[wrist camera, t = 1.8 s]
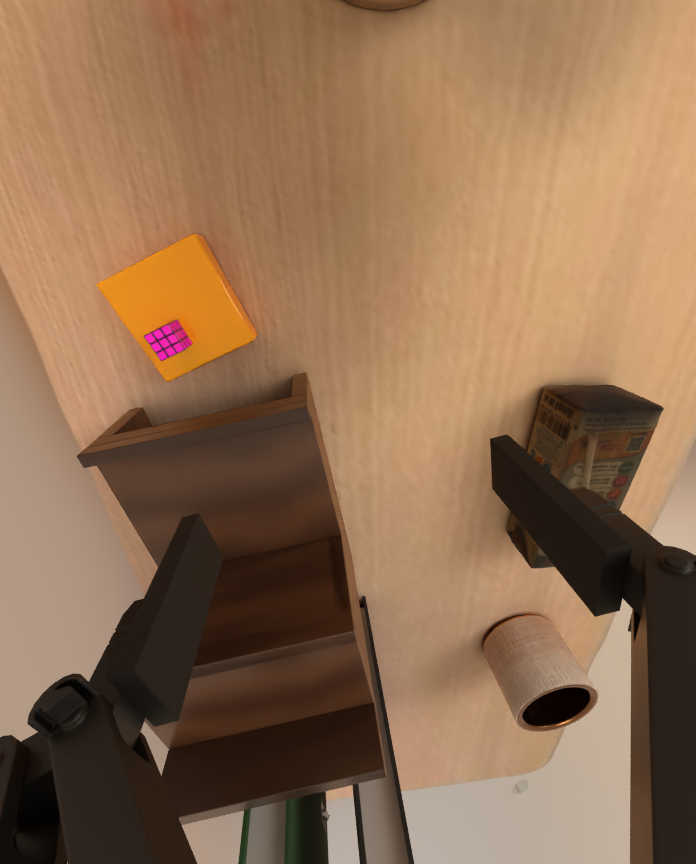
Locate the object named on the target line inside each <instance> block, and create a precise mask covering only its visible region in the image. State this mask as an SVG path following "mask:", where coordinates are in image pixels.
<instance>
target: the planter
mask: <svg viewBox="0 0 696 864" xmlns="http://www.w3.org/2000/svg"><path fill="white" fill-rule="evenodd" d="M483 650H484V654H485V657H486V659H487V661H488V663H489V665H490V667H491V669H492V672H493V674H494V676H495V678H496V680H497V682H498V684H499V686H500V688H501V690H502V693H503V695H504V697H505V699H506V701H507V703H508V705H509V707H510V710H511V712H512V714H513V716H514V718H515V720H516V722H517V724H518V726H519V727H521V728H522V729H525V730H528V731H533V732H543V731H550V730H555V729H559V728H562V727H565V726H567V725H570V724H572V723H574V722H576V721H578V720H579V719H581V718H582V717H584V716H585V715H586V714H588V713H589V712H590V711H591V710H592V709H593V707H594V706H595V705H596V703H597V701H598V692H597V690H596V688H595V687H594V685H593V684H592V682H591V681H590V679H589V678H588V676H587V675H586V673H585V672H584V670H583V669H582V667H581V666H580V664H579V663H578V661H577V660H576V658H575V657H574V655H573V654H572V652H571V651H570V649H569V648H568V646H567V645H566V643H565V641H564V640H563V638H562V637H561V635H560V634H559V632H558V631H557V629H556V628H555V626H554V625H553V624H552V623H551V622H550V621H549V620H548V619H546V618H544V617H541V616H536V615H522V616H516V617H513V618H510V619H508V620H506V621H504V622H502V623H500V624H499V625H497V626H496V627H495V628H494V629H493V630H492V631H491V632H490V633H489V635H488V636H487V638H486V640H485V642H484V646H483Z"/></svg>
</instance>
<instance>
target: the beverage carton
mask: <svg viewBox="0 0 696 864" xmlns="http://www.w3.org/2000/svg"><path fill="white" fill-rule="evenodd" d="M663 409H664V408H663V407H662V406H660V405H657V404H655V403H653V402H651V401H649V400H647V399H645V398H643V397H640V396H638V395H636V394H633V393H631V392H628V391H626V390H624V389H622V388H619V387H617V386H614V385H598V386H579V385H573V386H545V387H544V391H543V395H542V398H541V401H540V405H539V409H538V412H537V416H536V420H535V423H534V427H533V431H532V435H531V439H530V443H529V447H528V451H527V452H528V453H529V454H530V455H531V456H532V457H533V458H534V459H536V460H537V461H538V462H539V463H540V464H541V465H542V466H543V467H545V468H546V469H547V470H548V471H549V472H550V473H551V474H552V475H554V476H555V477H556V478H557V479H558V480H559V481H560V482H561V483H563V484H564V485H565V486H566V487H567V488H568V489H569V490H572V489H576V488H580V487H585V488H587V489H590V490H592V491H594V492H596V493H599V494H600V495H601V496H603V497H604V498H605V499H606V500H608V501H609V502H610V503H611V504H612V506H615V507H616V508H617V509H620V507H621V505H622V503H623V500H624V498H625V496H626V494H627V492H628V490H629V487H630V485H631V482H632V480H633V478H634V476H635V474H636V472H637V469H638V467H639V465H640V462H641V460H642V458H643V455H644V453H645V451H646V449H647V446H648V444H649V442H650V440H651V437H652V435H653V432H654V430H655V428H656V426H657V424H658V420H659V417H660V415H661V413H662V411H663ZM507 533H508V535H509V536H510V538H511V541H512V542H513V544H514V545H515V546H516V548H517V549H518V551H519V552H520V553H521V554H522V556H523V557H524V558H525V560H526V562H527V563H528V564H529V566H530V567H531V568H547V567H555V566H554V565H553V564H552V562H551V561H550V560H549V559H548V557H547V556H546V555H545V554H544V552H543V551H542V550H541V549H540V547H539V546H538V545H537V544H536V542H535V541H534V540H533V539H532V537H531V536H530V535H529V534H528V532H527V531H526V530H525V529H524V527H523V526H522V525H521V524H520V522H519V521H518V520H517V519H516V517H515V516H514V515H513V514H512V513H511V518H510V522H509V526H508V529H507Z"/></svg>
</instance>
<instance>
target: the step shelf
mask: <svg viewBox="0 0 696 864" xmlns="http://www.w3.org/2000/svg"><path fill="white" fill-rule="evenodd" d="M77 458H78V459H79V461H80V463H81V464H82V466H83V467H84V468H86V467H91V466H96V465H97V466H98V468H99V470H100V471H101V473H102V475H103V476H104V478H105V480H106V481H107V483H108V485H109V486H110V488H111V490H112V491H113V493H114V495H115V496H116V498H117V500H118V501H119V503H120V505H121V506H122V508H123V510H124V511H125V513H126V514H127V516H128V518H129V519H130V521H131V523H132V524H133V526H134V528H135V529H136V531H137V533H138V534H139V536H140V538H141V539H142V541H143V543H144V544H145V546H146V548H147V549H148V551H149V553H150V554H151V556H152V558H153V559H154V561H155V563H156V564H157V566H158V567H159V565H160V563H161V561H162V559H163V557H164V555H165V553H166V550H167V548H168V546H169V544H170V542H171V540H172V538H173V536H174V533H175V531H176V529H177V527H178V525H179V523H180V521H181V519H182V517H185V516H189V515H193V514H197V513H199V514H200V516H201V517H202V519H203V521H204V523H205V525H206V527H207V528H208V530H209V532H210V534H211V536H212V537H213V539H214V541H215V543H216V545H217V547H218V548H219V550H220V552H221V554H222V556H223V560H222V563H221V567H220V571H219V574H218V578H217V582H216V585H215V589H214V593H213V596H212V600H211V604H210V607H209V611H208V615H207V618H206V622H205V626H204V629H203V633H202V637H201V640H200V644H199V648H198V651H197V655H196V659H195V662H194V666H193V670H192V673H191V677H190V681H189V684H188V688H187V692H186V695H185V699H184V703H183V707H182V710H181V714H180V718H179V721H177V722H173V723H169V724H165V725H161V726H157V727H154V726H153V725H152V724H151V723H150V722H149V721H148V720H147V719H146V718H145V720H144V721H145V722H146V723H147V725H148V726H149V727H150V728H151V729H152V730H153V731H154V733H155V734H156V735H157V736H158V737H159V738H160V740H161V741H162V742H163V743H164V744H165V745H166V746H167V748H168V749H169V751H168V754H167V759H166V762H165V765H164V769H163V773H162V776H161V777H162V779H163V782H164V784H165V787H166V789H167V791H168V794H169V796H170V799H171V801H172V804H173V806H174V808H175V811H176V813H177V816H178V818H179V821H180V823H181V825H183V824H188V823H192V822H196V821H200V820H205V819H209V818H213V817H218V816H222V815H226V814H230V813H235V812H239V811H243V810H248V809H252V808H256V807H260V806H265V805H269V804H273V803H277V802H282V801H286V800H290V799H294V798H299V797H303V796H307V795H312V794H316V793H320V792H324V791H329V790H333V789H337V788H341V787H346V786H350V785H354V784H358V783H363V782H367V781H371V780H376V779H380V778H384V777H387V774H386V767H385V761H384V755H383V749H382V742H381V736H380V730H379V724H378V717H377V711H376V705H375V699H374V693H373V686H372V680H371V674H370V668H369V661H368V655H367V649H366V643H365V636H364V630H363V624H362V618H361V611H360V605H359V599H358V593H357V586H356V580H355V574H354V568H353V561H352V556H351V552H350V548H349V543H348V539H347V535H346V531H345V527H344V523H343V519H342V515H341V511H340V507H339V503H338V499H337V495H336V490H335V486H334V482H333V478H332V474H331V470H330V466H329V462H328V458H327V454H326V450H325V446H324V441H323V437H322V433H321V429H320V425H319V421H318V417H317V413H316V409H315V405H314V401H313V397H312V393H311V388H310V384H309V380H308V376H307V373H302V374H297V375H294V377H293V388H292V397H289V398H284V399H280V400H275V401H270V402H266V403H261V404H256V405H252V406H247V407H242V408H238V409H233V410H228V411H223V412H219V413H214V414H209V415H205V416H200V417H195V418H191V419H186V420H181V421H177V422H172V423H167V424H163V425H158V426H153V427H152V426H151V424H150V422H149V420H148V418H147V416H146V413H145V411H144V409H143V408H137V409H132V410H129V411H128V412H127V413H126V414H125V415H123V416H122V417H121V418H120V419H119V420H118V421H117V422H115V423H114V424H113V425H112V426H111V427H110V428H109V429H107V430H106V431H105V432H104V433H103V434H102V435H100V436H99V437H98V438H97V439H96V440H95V441H94V442H93V443H91V444H90V445H89V446H88V447H87V448H86V449H84V450H83V451H82V452H81V453H80V454H79V455H78V456H77Z"/></svg>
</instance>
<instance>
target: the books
mask: <svg viewBox="0 0 696 864" xmlns="http://www.w3.org/2000/svg"><path fill="white" fill-rule="evenodd" d="M363 602H364V607H360V611H361V618H362V624H363V630H364V636H365V643H366V649H367V655H368V661H369V668H370V674H371V680H372V686H373V693H374V699H375V705H376V711H377V717H378V724H379V730H380V736H381V742H382V749H383V755H384V761H385V767H386V774H387V777H384V778H380V779H376V780H371V781H367V782H363V783H358V784H354V785H353V794H354V804H355V816H356V826H357V836H358V847H359V857H360V864H414V860H413V855H412V849H411V844H410V839H409V833H408V828H407V822H406V817H405V812H404V806H403V800H402V795H401V789H400V784H399V778H398V773H397V768H396V762H395V757H394V751H393V746H392V740H391V735H390V729H389V724H388V718H387V713H386V707H385V702H384V697H383V691H382V686H381V680H380V675H379V669H378V664H377V658H376V653H375V647H374V642H373V636H372V631H371V626H370V620H369V615H368V609H367V604H366V598H365V596H363ZM329 816H330V815H329V814H328V813H327V811H326V791H324V792H320V793H316V794H312V795H307V796H303V797H299V798H294V799H290V800H286V801H282V802H277V803H273V804H269V805H265V806H260V807H256V808H252V809H248V810H244V817H243V827H242V836H241V845H240V855H239V864H328V863H329V862H328V840H327V820H328V818H329Z"/></svg>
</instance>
